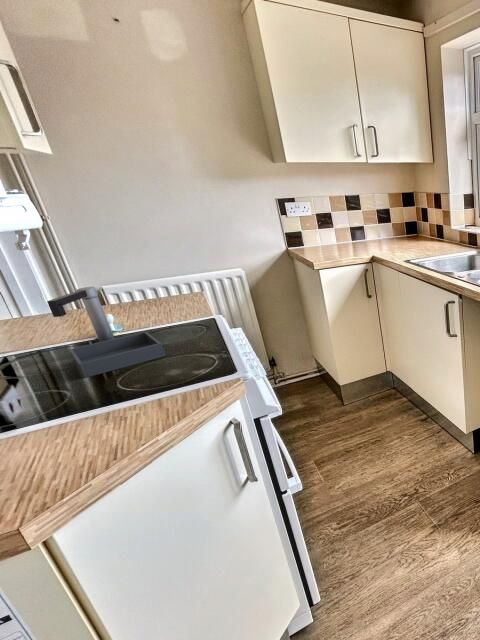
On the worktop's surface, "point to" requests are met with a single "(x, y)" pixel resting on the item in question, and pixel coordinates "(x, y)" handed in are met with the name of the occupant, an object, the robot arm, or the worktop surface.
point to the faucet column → (98, 319)
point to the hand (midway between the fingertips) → (3, 253)
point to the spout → (70, 300)
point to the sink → (116, 353)
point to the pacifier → (113, 325)
